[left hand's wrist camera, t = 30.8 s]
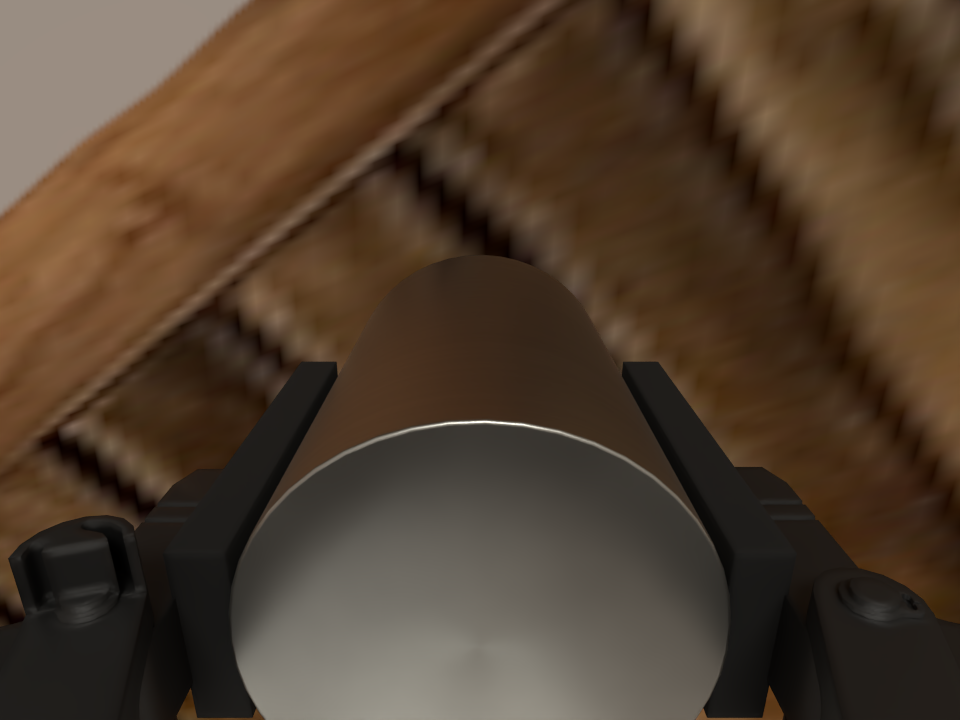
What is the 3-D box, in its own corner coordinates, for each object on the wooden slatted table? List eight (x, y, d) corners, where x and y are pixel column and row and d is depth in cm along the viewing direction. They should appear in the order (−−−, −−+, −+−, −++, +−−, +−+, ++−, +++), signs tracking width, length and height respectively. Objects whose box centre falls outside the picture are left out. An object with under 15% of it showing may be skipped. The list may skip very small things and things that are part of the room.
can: (575, 496, 18) (660, 838, 9) (348, 466, 17) (223, 792, 9) (627, 275, 15) (803, 462, 7) (369, 236, 15) (231, 382, 7)
